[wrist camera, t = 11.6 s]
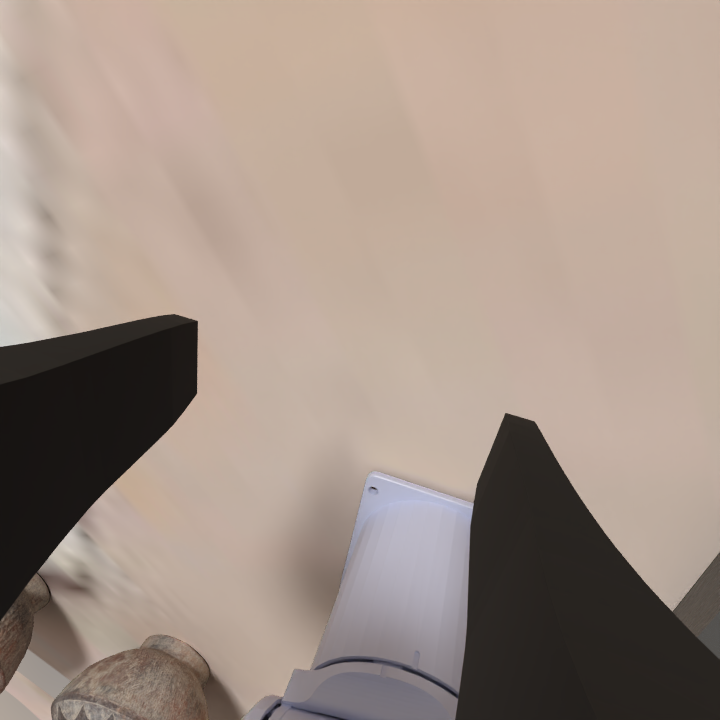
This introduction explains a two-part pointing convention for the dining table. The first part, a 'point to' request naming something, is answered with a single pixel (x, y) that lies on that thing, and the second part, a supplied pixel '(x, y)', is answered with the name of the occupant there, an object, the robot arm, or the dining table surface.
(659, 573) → the dining table surface
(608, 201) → the dining table surface
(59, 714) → the pottery
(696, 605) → the grey square hole board
